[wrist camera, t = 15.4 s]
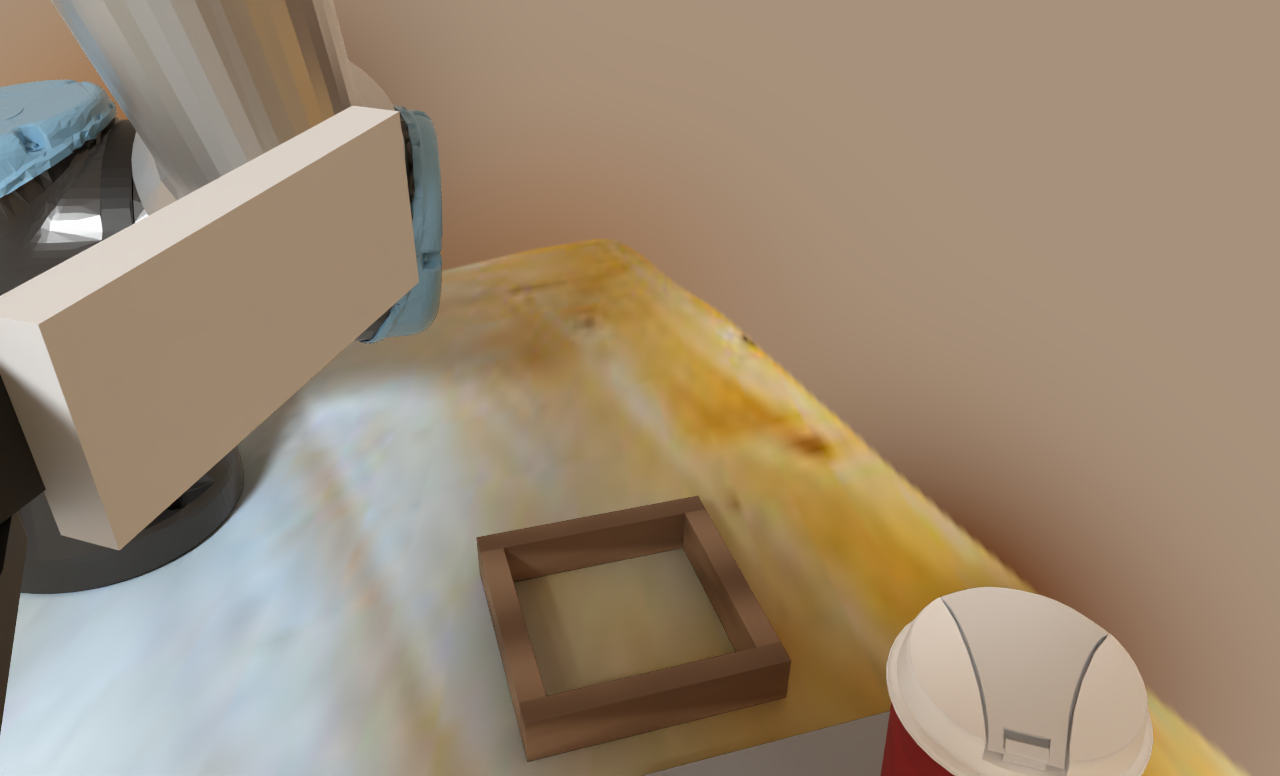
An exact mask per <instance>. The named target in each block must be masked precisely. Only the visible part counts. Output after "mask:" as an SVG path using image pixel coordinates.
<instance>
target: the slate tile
mask: <svg viewBox="0 0 1280 776" xmlns="http://www.w3.org/2000/svg"><path fill="white" fill-rule="evenodd" d="M889 715H890V711H888V712H884V713H880V714H876V715H873V716H869V717H865V718H861V719H857V720H853V721H850V722H846V723H842V724H838V725H834V726H830V727H827V728H823V729H819V730H815V731H811V732H807V733H804V734H800V735H796V736H792V737H788V738H784V739H781V740H777V741H773V742H769V743H765V744H762V745H758V746H754V747H750V748H746V749H742V750H739V751H735V752H731V753H727V754H723V755H719V756H716V757H712V758H708V759H704V760H700V761H696V762H693V763H689V764H685V765H681V766H677V767H673V768H670V769H666V770H662V771H658V772H654V773H650V774H647V775H643V776H881V769H882V762H883V755H884V749H885V742H886V735H887V728H888V721H889Z"/></svg>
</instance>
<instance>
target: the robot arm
mask: <svg viewBox="0 0 1280 776" xmlns="http://www.w3.org/2000/svg"><path fill="white" fill-rule="evenodd" d="M50 1H51V2H52V4H53V5H54V7H55V8H56V10H57V12H58V13H59V14H60V16H61V17H62V19H63V20H64V22H65V24H66V25H67V27H68V28H69V30H70V31H71V33H72V34H73V36H74V37H75V39H76V40H77V42H78V43H79V45H80V46H81V48H82V49H83V51H84V52H85V54H86V56H87V57H88V59H89V60H90V62H91V63H92V64H93V66H94V67H95V69H96V70H97V72H98V74H99V75H100V77H101V78H102V80H103V81H104V83H105V84H106V86H107V87H108V89H109V90H110V92H111V93H112V95H113V96H114V98H115V100H116V101H117V103H118V104H119V105H120V107H121V109H122V110H123V112H124V113H125V115H126V116H127V118H128V119H129V120H122V119H118V118H117V117H115V116H116V106H115V103H114V102H113V101H111V100H110V99H109V97H108V95H107V94H106V92H105V91H104V90H103V89H102V88H101V87H99V86H97V85H96V84H93V83H90V82H86V81H85V82H80V83H78V82H76V81H74V80H48V81H38V82H30V83H23V84H17V85H11V86H6V87H0V732H1V725H2V718H3V711H4V704H5V697H6V690H7V683H8V676H9V669H10V662H11V655H12V648H13V641H14V633H15V626H16V619H17V612H18V605H19V598H20V593H32V594H55V593H68V592H76V591H82V590H88V589H93V588H98V587H102V586H106V585H110V584H114V583H117V582H121V581H124V580H127V579H130V578H133V577H136V576H138V575H141V574H143V573H146V572H148V571H151V570H153V569H155V568H157V567H159V566H161V565H164V564H166V563H168V562H169V561H171V560H173V559H175V558H177V557H179V556H180V555H182V554H184V553H185V552H187V551H188V550H190V549H191V548H193V547H194V546H196V545H197V544H198V543H200V542H201V541H202V540H204V539H205V538H206V537H207V536H209V535H210V534H211V533H212V532H213V531H214V530H215V529H216V528H217V527H218V526H219V525H220V524H221V523H222V522H223V521H224V520H225V519H226V517H227V516H228V515H229V514H230V512H231V511H232V509H233V508H234V506H235V504H236V503H237V501H238V499H239V497H240V494H241V491H242V487H243V481H244V473H243V467H242V463H241V459H240V455H239V452H238V448H237V445H238V444H239V443H240V442H241V441H242V440H243V439H244V438H246V437H247V436H248V435H249V434H250V433H251V432H252V431H253V430H255V429H256V428H257V427H258V426H259V425H260V424H261V423H262V422H263V421H265V420H266V419H267V418H268V417H269V416H270V415H271V414H272V413H273V412H275V411H276V410H277V409H278V408H279V407H280V406H281V405H282V404H284V403H285V402H286V401H287V400H288V399H289V398H290V397H291V396H292V395H294V394H295V393H296V392H297V391H298V390H299V389H300V388H301V387H302V386H304V385H305V384H306V383H307V382H308V381H309V380H310V379H311V378H313V377H314V376H315V375H316V374H317V373H318V372H319V371H320V370H321V369H323V368H324V367H325V366H326V365H327V364H328V363H329V362H330V361H332V360H333V359H334V358H335V357H336V356H337V355H338V354H339V353H340V352H342V351H343V350H344V349H345V348H346V347H347V346H348V345H349V344H350V343H352V342H353V341H358V340H359V341H360V342H362V343H374V342H379V341H381V340H383V339H384V338H388V337H397V336H406V335H413V334H417V333H420V332H422V331H424V330H425V329H427V328H428V327H429V326H430V325H431V324H432V323H433V321H434V320H435V318H436V316H437V313H438V309H439V304H440V296H441V282H442V261H441V255H440V251H441V249H442V196H441V176H440V163H439V150H438V142H437V135H436V131H435V128H434V125H433V123H432V121H431V119H430V118H429V116H428V115H427V114H426V113H424V112H422V111H418V110H408V109H406V108H404V107H401V106H393V105H392V104H391V102H390V100H389V99H388V97H387V96H386V94H385V92H384V91H383V90H382V89H381V88H380V87H379V86H378V84H377V83H376V82H375V81H374V80H373V79H372V78H370V76H369V75H367V74H366V73H365V72H364V71H363V70H361V69H360V68H359V67H357V66H356V65H355V64H353V63H352V62H350V61H348V57H347V53H346V49H345V45H344V42H343V38H342V34H341V31H340V26H339V23H338V18H337V15H336V11H335V7H334V3H333V0H50Z"/></svg>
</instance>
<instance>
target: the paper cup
mask: <svg viewBox="0 0 1280 776" xmlns="http://www.w3.org/2000/svg"><path fill="white" fill-rule="evenodd" d="M1107 635H1108V632H1107V631H1106V630H1104V629H1103V628H1101V627H1100V626H1099V625H1097V624H1095V623H1094V622H1093V621H1091V620H1090V619H1088V618H1087V617H1085V616H1083V615H1082V614H1080V613H1079V612H1077V611H1076V610H1074V609H1073V608H1070V607H1069V606H1066V605H1064V604H1062V603H1060V602H1058V601H1056V600H1053V599H1050V598H1048V597H1045V596H1042V595H1039V594H1035V593H1031V592H1026V591H1022V590H1016V589H1010V588H1002V587H978V588H971V589H966V590H962V591H958V592H955V593H951V594H948V595H945V596H942V597H941V598H940V597H939V598H937V599H935V600H934V601H932V602H931V603H930V604H928V605H927V606H926V607H925V608H924V609H922V611H921V612H920V613H919V614H918V616H917V617H916V618H915V619H914V620H913V621H911V622H910V623H909V624H908V625H906V626H905V627H904V628H903V630H902V631H901V632H900V633H899V635H898V636H897V637H896V639H895V641H894V643H893V645H892V647H891V649H890V652H889V656H888V660H887V665H886V681H887V687H888V692H889V696H890V699H891V708H890V715H889V721H888V728H887V735H886V742H885V749H884V755H883V762H882V769H881V776H1141V775H1142V774H1143V772H1144V770H1145V768H1146V766H1147V764H1148V761H1149V759H1150V757H1151V752H1152V746H1153V728H1152V722H1151V718H1150V715H1149V711H1148V697H1147V693H1146V689H1145V685H1144V682H1143V679H1142V677H1141V675H1140V673H1139V671H1138V668H1137V666H1136V665H1135V663H1134V661H1133V660H1132V658H1131V657H1130V655H1129V654H1128V652H1127V651H1126V650H1125V649H1124V648H1123V646H1122V645H1121V644H1120V643H1119V642H1118V641H1117V640H1116V639H1115V638H1114V637H1113V636H1112V635H1111V634H1109V635H1108V637H1107Z"/></svg>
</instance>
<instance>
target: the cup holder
mask: <svg viewBox="0 0 1280 776" xmlns="http://www.w3.org/2000/svg"><path fill="white" fill-rule="evenodd" d="M477 547H478V558H479V568H480V575H481V579H482V583H483V587H484V591H485V595H486V599H487V603H488V607H489V611H490V615H491V619H492V623H493V627H494V631H495V635H496V639H497V642H498V646H499V650H500V654H501V658H502V662H503V666H504V670H505V674H506V678H507V682H508V686H509V690H510V694H511V698H512V702H513V706H514V710H515V714H516V718H517V722H518V726H519V730H520V734H521V738H522V742H523V746H524V750H525V754H526V758H527V762H528V761H532V760H536V759H540V758H544V757H548V756H552V755H556V754H560V753H564V752H568V751H572V750H576V749H580V748H584V747H588V746H592V745H596V744H600V743H605V742H609V741H613V740H617V739H621V738H625V737H629V736H633V735H637V734H641V733H645V732H649V731H653V730H657V729H661V728H665V727H669V726H673V725H677V724H681V723H685V722H689V721H693V720H697V719H701V718H705V717H709V716H713V715H717V714H721V713H725V712H729V711H733V710H737V709H741V708H745V707H749V706H753V705H757V704H761V703H765V702H769V701H773V700H777V699H781V698H785V697H786V693H787V686H788V679H789V672H790V665H791V660H790V658H789V656H788V654H787V653H786V651H785V649H784V647H783V645H782V644H781V642H780V640H779V638H778V637H777V635H776V633H775V631H774V630H773V628H772V626H771V624H770V622H769V621H768V619H767V617H766V615H765V614H764V612H763V610H762V608H761V606H760V605H759V603H758V601H757V599H756V598H755V596H754V594H753V592H752V591H751V589H750V587H749V585H748V583H747V582H746V580H745V578H744V576H743V575H742V573H741V571H740V569H739V568H738V566H737V564H736V562H735V560H734V559H733V557H732V555H731V553H730V552H729V550H728V548H727V546H726V544H725V543H724V541H723V539H722V537H721V536H720V534H719V532H718V530H717V529H716V527H715V525H714V523H713V521H712V520H711V518H710V516H709V514H708V513H707V511H706V509H705V507H704V506H703V504H702V502H701V500H700V498H699V497H698V496H695V497H689V498H684V499H679V500H673V501H668V502H663V503H657V504H652V505H647V506H641V507H636V508H631V509H625V510H620V511H615V512H609V513H604V514H599V515H593V516H588V517H583V518H578V519H572V520H567V521H562V522H556V523H551V524H546V525H540V526H535V527H530V528H524V529H519V530H514V531H508V532H503V533H498V534H492V535H487V536H482V537H477ZM679 548H684V550H685V552H686V554H687V556H688V558H689V560H690V562H691V564H692V566H693V568H694V570H695V572H696V574H697V576H698V578H699V580H700V582H701V584H702V586H703V588H704V590H705V592H706V593H707V595H708V597H709V599H710V601H711V603H712V605H713V607H714V609H715V611H716V613H717V615H718V617H719V619H720V621H721V623H722V625H723V627H724V629H725V631H726V633H727V635H728V637H729V639H730V641H731V642H732V644H733V646H734V648H735V650H736V652H734V653H730V654H725V655H721V656H717V657H713V658H708V659H704V660H700V661H695V662H691V663H687V664H683V665H678V666H674V667H670V668H665V669H661V670H657V671H653V672H648V673H644V674H640V675H635V676H631V677H627V678H623V679H618V680H614V681H610V682H605V683H601V684H597V685H593V686H588V687H584V688H580V689H575V690H571V691H567V692H563V693H558V694H554V695H550V696H546V694H545V691H544V687H543V684H542V680H541V677H540V673H539V670H538V666H537V663H536V659H535V656H534V652H533V649H532V646H531V642H530V639H529V635H528V632H527V628H526V625H525V621H524V618H523V614H522V611H521V607H520V604H519V600H518V597H517V593H516V590H515V587H514V583H513V582H515V581H520V580H525V579H530V578H535V577H540V576H545V575H550V574H555V573H560V572H565V571H570V570H575V569H579V568H584V567H589V566H594V565H599V564H604V563H609V562H614V561H619V560H624V559H629V558H634V557H639V556H644V555H649V554H654V553H659V552H664V551H669V550H674V549H679Z"/></svg>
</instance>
